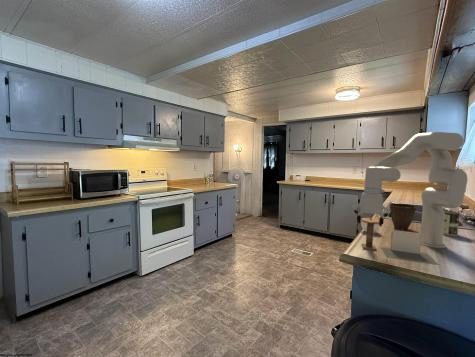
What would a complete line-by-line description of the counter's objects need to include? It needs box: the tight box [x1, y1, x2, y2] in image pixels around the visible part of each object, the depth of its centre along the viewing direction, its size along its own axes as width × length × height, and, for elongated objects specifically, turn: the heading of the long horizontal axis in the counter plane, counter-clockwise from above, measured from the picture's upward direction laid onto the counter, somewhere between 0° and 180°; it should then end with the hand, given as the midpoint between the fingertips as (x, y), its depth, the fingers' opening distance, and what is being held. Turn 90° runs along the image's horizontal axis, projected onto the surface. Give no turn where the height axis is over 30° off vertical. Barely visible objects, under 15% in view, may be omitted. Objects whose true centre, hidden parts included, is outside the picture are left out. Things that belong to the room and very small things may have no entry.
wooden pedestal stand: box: [361, 222, 378, 252], centre depth 121 cm, size 6×6×14 cm
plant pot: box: [389, 203, 417, 230], centre depth 160 cm, size 15×15×16 cm
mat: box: [380, 246, 440, 266], centre depth 113 cm, size 14×20×1 cm
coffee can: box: [443, 209, 461, 237], centre depth 151 cm, size 10×10×14 cm
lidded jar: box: [360, 216, 381, 234], centre depth 151 cm, size 11×11×9 cm
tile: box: [389, 229, 421, 254], centre depth 117 cm, size 2×12×10 cm, turn 68°
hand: (369, 224), depth 121 cm, fingers open, 9 cm apart
